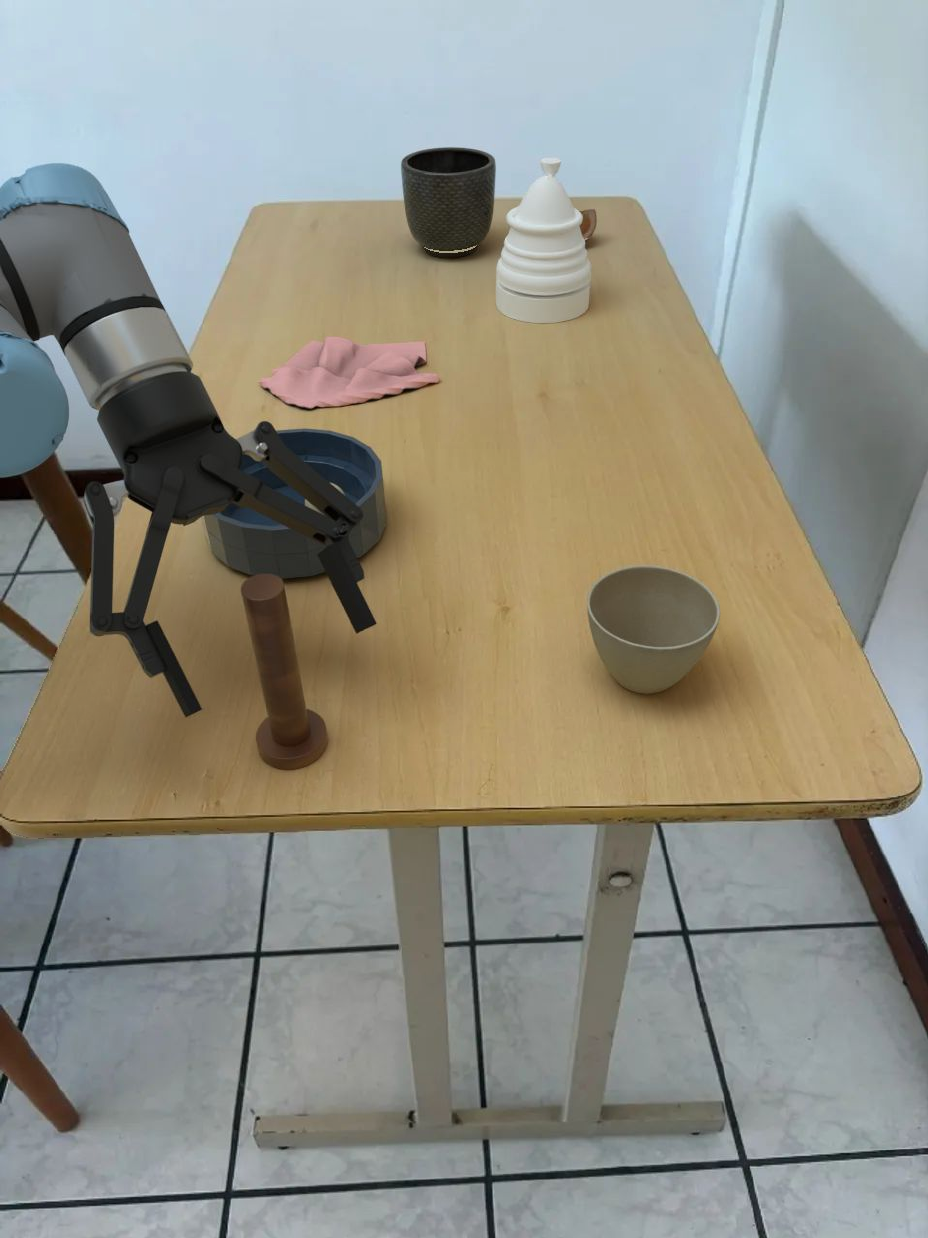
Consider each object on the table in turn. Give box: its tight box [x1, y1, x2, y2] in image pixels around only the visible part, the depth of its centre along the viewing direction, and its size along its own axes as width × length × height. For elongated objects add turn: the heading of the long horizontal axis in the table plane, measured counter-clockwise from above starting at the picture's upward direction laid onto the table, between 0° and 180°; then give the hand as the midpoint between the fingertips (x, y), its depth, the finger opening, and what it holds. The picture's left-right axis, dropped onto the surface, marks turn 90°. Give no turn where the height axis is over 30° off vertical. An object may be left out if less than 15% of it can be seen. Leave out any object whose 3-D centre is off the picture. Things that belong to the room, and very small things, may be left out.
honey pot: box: [495, 157, 592, 324], centre depth 127 cm, size 13×13×18 cm
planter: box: [400, 146, 497, 259], centre depth 144 cm, size 14×14×13 cm
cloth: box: [257, 336, 440, 410], centre depth 117 cm, size 20×22×2 cm
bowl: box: [200, 427, 388, 580], centre depth 91 cm, size 17×17×6 cm
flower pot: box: [586, 564, 721, 695], centre depth 75 cm, size 10×10×7 cm
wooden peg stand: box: [240, 574, 329, 770], centre depth 67 cm, size 5×5×15 cm
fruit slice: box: [579, 208, 598, 239], centre depth 148 cm, size 8×7×5 cm
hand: (284, 670), depth 66 cm, fingers open, 13 cm apart
